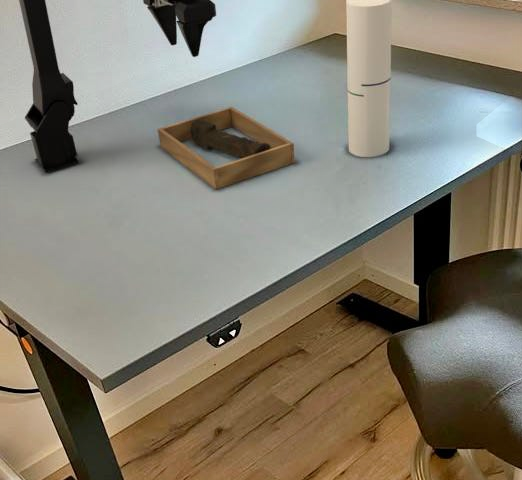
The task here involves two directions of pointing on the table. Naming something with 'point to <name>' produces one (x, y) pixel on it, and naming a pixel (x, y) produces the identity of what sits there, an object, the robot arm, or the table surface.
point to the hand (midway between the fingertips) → (184, 50)
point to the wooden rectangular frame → (236, 170)
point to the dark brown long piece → (224, 140)
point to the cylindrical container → (368, 76)
